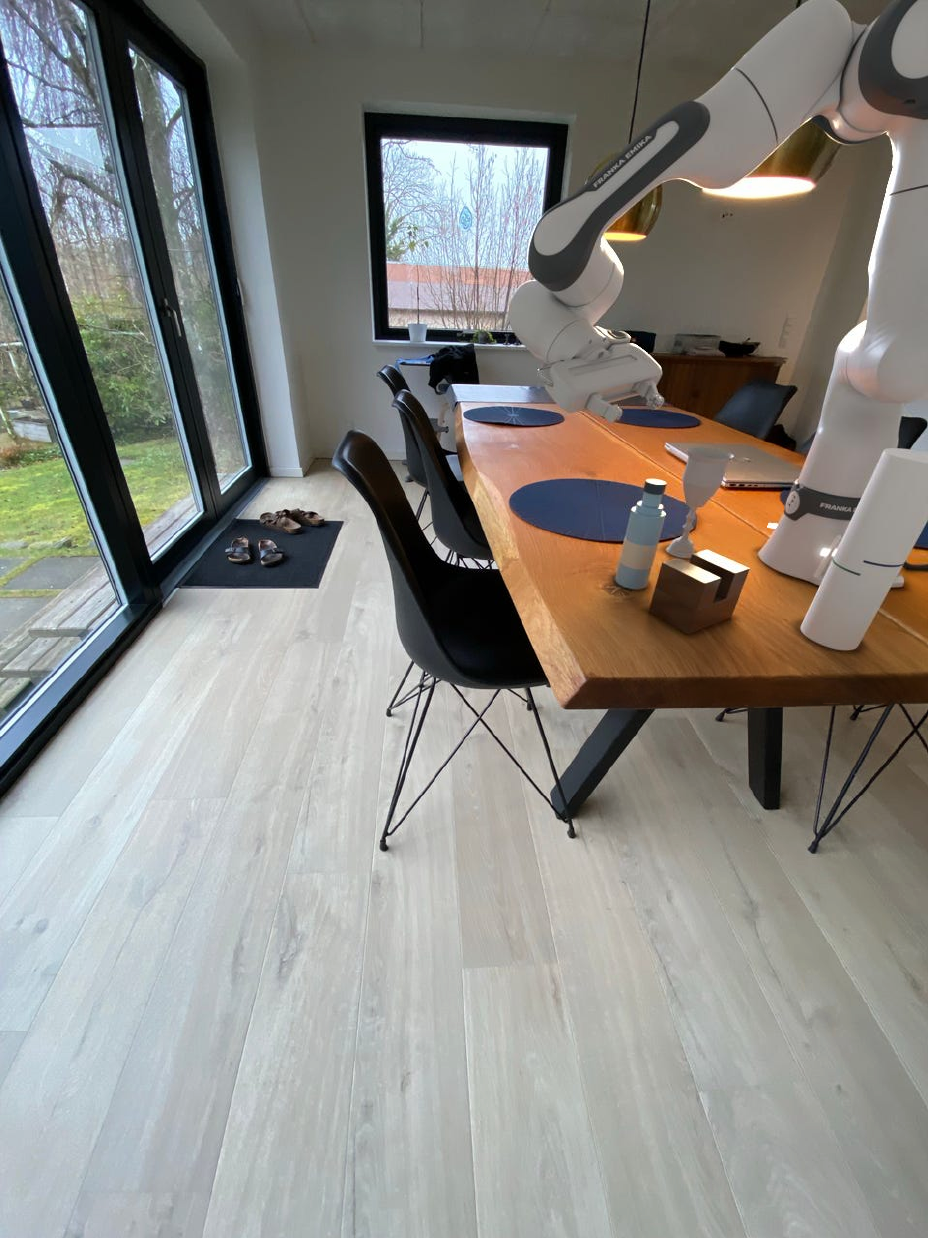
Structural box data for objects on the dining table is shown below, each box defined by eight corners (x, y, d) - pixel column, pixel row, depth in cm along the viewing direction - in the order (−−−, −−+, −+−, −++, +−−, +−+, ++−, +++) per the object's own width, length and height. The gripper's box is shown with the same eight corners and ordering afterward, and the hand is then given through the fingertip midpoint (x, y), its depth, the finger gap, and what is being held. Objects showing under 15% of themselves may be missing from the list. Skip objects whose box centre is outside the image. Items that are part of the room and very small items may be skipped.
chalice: (700, 548, 97) (732, 450, 88) (702, 563, 92) (735, 460, 82) (660, 541, 99) (686, 445, 90) (659, 555, 94) (687, 454, 84)
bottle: (616, 598, 84) (584, 518, 86) (638, 591, 87) (606, 513, 89) (686, 567, 72) (646, 473, 74) (709, 560, 74) (670, 469, 76)
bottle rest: (648, 611, 77) (662, 562, 72) (691, 596, 81) (706, 549, 77) (687, 634, 72) (705, 583, 67) (731, 617, 76) (750, 568, 72)
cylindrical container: (859, 656, 69) (965, 468, 56) (799, 638, 72) (885, 456, 59) (857, 632, 74) (954, 455, 61) (801, 616, 78) (882, 445, 64)
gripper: (537, 347, 75) (599, 406, 70) (632, 330, 84) (692, 380, 79) (524, 387, 80) (581, 444, 75) (615, 366, 89) (670, 416, 84)
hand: (639, 411), depth 77 cm, fingers open, 8 cm apart
